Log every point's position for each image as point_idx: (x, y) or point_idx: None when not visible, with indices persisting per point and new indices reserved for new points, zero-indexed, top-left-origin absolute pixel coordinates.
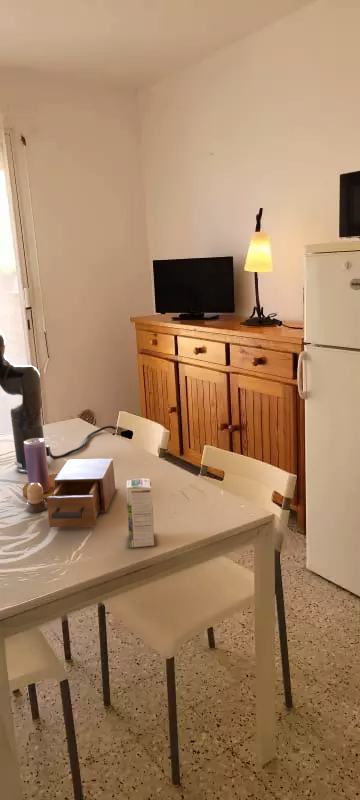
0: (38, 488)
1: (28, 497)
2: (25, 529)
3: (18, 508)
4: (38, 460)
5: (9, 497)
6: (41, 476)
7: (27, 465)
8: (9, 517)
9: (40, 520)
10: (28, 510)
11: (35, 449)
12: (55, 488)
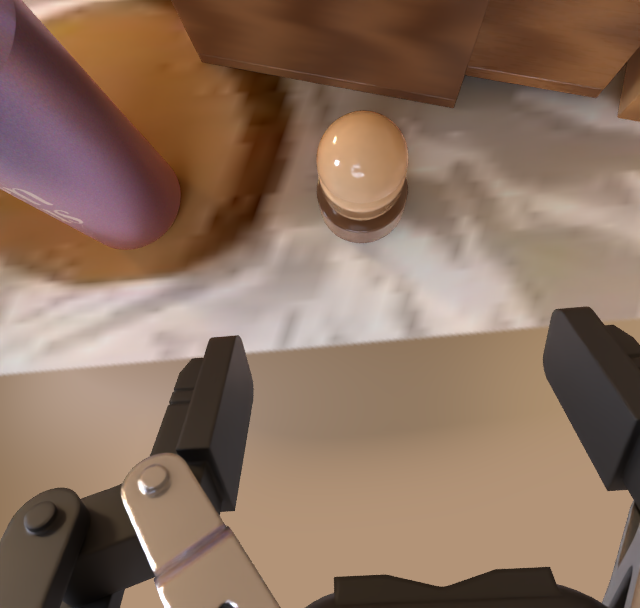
0: (394, 124)
1: (387, 205)
2: (586, 237)
3: (327, 289)
4: (86, 86)
5: (171, 344)
6: (142, 142)
7: (72, 184)
8: (426, 322)
9: (500, 179)
10: (382, 236)
11: (28, 33)
12: (485, 10)
